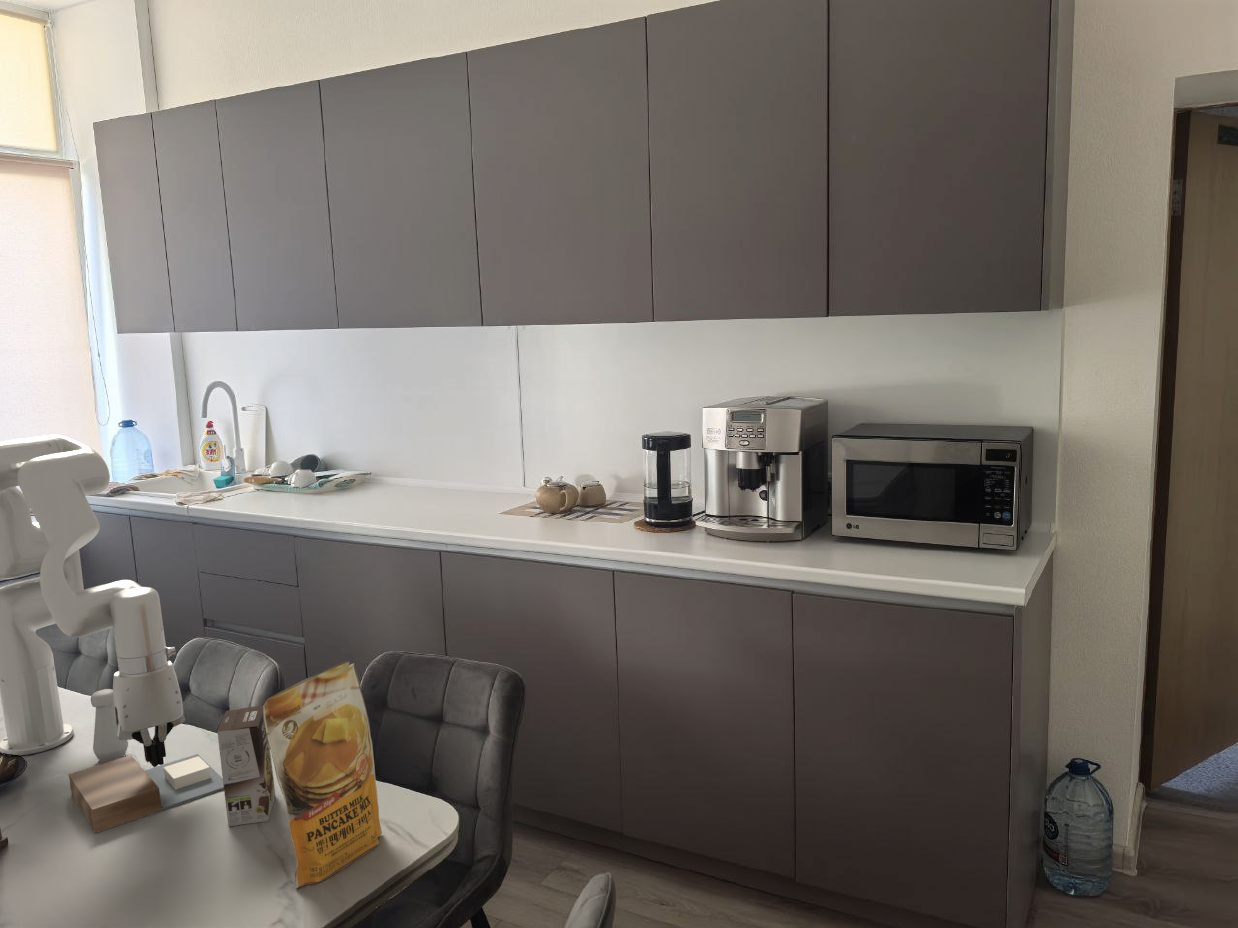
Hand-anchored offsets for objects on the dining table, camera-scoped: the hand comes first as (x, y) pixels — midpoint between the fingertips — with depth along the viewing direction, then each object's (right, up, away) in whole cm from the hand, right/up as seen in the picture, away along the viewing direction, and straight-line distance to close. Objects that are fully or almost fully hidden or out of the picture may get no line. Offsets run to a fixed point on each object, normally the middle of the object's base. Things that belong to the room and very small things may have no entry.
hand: (156, 762), depth 171 cm
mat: (+3, -4, +3) cm, 6 cm away
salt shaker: (-15, -3, +14) cm, 20 cm away
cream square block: (+4, -3, +3) cm, 6 cm away
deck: (-5, -6, -4) cm, 8 cm away
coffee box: (+20, -5, -8) cm, 22 cm away
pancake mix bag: (+38, -7, -24) cm, 45 cm away
